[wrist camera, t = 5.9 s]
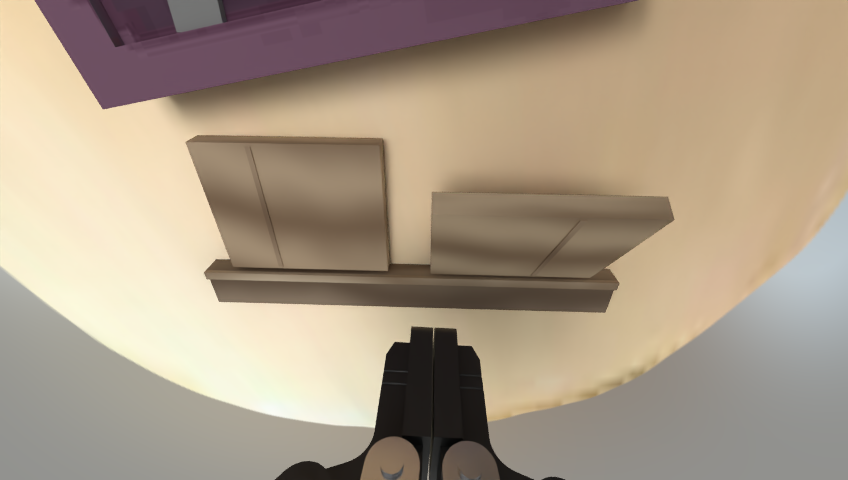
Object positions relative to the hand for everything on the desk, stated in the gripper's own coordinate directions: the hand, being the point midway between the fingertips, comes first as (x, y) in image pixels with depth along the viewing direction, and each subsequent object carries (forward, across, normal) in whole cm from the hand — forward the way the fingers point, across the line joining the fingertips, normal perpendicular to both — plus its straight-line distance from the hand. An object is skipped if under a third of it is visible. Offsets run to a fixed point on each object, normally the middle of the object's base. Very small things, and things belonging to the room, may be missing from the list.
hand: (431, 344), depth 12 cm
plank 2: (+10, -5, +1) cm, 11 cm away
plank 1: (+12, +9, +1) cm, 15 cm away
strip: (+13, +1, +8) cm, 15 cm away
